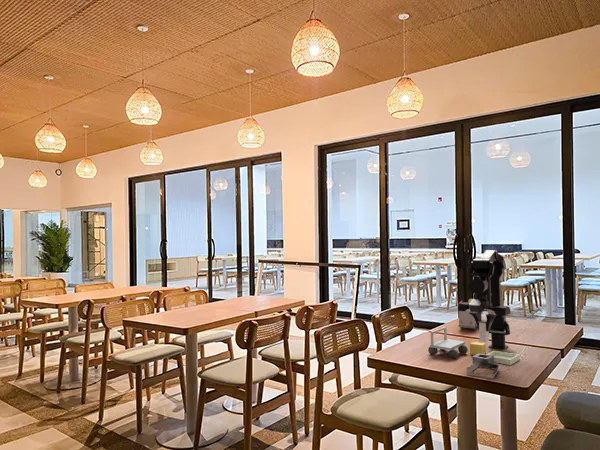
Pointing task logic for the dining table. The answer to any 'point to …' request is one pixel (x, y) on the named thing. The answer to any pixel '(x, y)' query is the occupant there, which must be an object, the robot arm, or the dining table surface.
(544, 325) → the dining table surface
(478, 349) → the yellow block
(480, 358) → the pin bracket
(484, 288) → the robot arm
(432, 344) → the trolley
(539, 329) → the dining table surface
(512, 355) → the tray
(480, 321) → the stop pin
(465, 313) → the toy vehicle
